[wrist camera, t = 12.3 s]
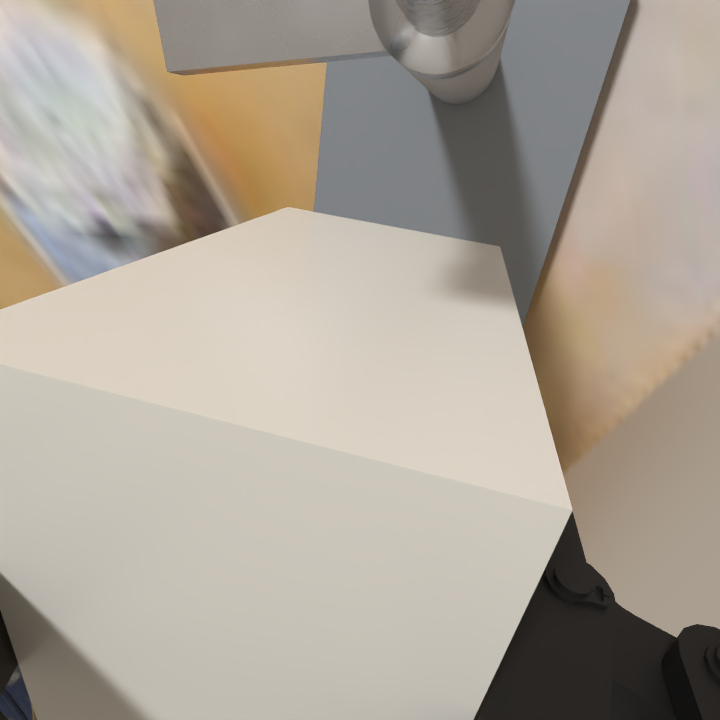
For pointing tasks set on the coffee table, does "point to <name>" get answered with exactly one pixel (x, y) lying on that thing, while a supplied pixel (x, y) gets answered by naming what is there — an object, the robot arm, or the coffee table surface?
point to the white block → (273, 478)
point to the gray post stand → (472, 135)
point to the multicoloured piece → (329, 33)
